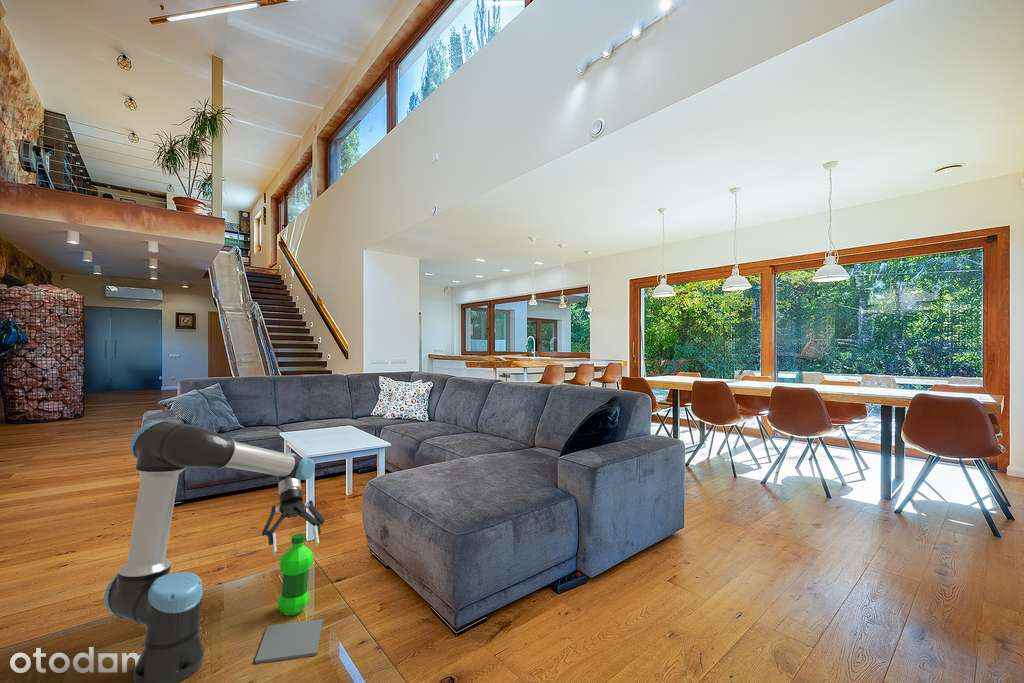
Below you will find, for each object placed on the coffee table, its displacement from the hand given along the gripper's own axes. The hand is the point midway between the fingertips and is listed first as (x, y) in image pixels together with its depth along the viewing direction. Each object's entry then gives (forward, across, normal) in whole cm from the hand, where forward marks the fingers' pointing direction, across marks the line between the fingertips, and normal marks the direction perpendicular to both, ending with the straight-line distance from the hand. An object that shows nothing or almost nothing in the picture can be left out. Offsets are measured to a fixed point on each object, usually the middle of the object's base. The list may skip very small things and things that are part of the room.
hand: (296, 548), depth 152 cm
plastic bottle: (+17, +1, -9) cm, 19 cm away
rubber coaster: (+28, +5, +2) cm, 28 cm away
